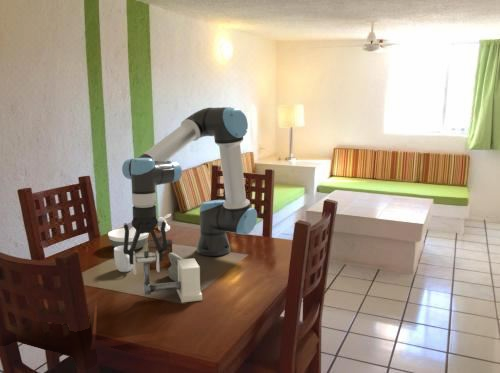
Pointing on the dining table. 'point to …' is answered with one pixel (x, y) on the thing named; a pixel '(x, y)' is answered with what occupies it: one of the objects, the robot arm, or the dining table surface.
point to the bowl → (119, 234)
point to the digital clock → (173, 266)
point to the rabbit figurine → (165, 222)
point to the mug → (122, 259)
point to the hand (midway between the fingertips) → (146, 271)
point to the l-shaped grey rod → (146, 259)
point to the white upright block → (189, 280)
